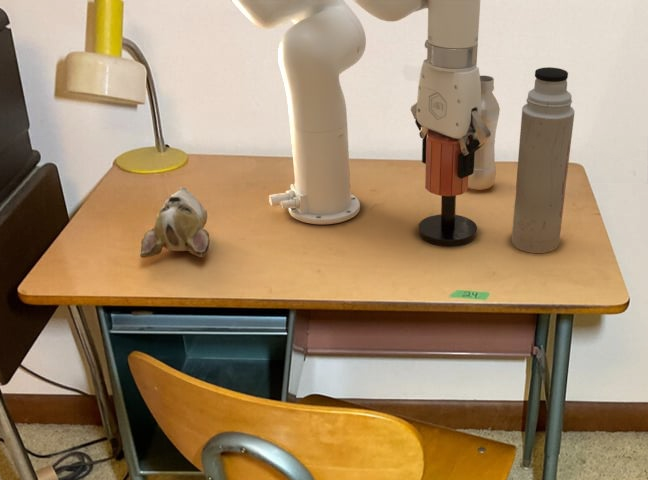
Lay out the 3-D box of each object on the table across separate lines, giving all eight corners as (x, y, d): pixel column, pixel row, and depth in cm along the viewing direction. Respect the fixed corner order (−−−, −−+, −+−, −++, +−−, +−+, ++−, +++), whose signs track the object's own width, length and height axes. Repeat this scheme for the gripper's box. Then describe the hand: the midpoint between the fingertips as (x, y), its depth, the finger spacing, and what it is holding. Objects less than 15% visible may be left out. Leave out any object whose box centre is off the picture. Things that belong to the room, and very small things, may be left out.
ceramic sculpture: (214, 177, 139) (199, 222, 127) (222, 224, 144) (209, 271, 133) (148, 177, 138) (127, 223, 127) (159, 225, 144) (140, 272, 132)
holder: (434, 251, 139) (435, 156, 129) (408, 226, 146) (408, 135, 136) (487, 240, 143) (493, 147, 133) (460, 216, 150) (463, 126, 140)
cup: (437, 199, 136) (438, 144, 130) (418, 182, 140) (419, 128, 135) (475, 192, 138) (478, 138, 133) (455, 176, 143) (458, 123, 138)
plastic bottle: (501, 185, 161) (509, 77, 149) (483, 197, 156) (490, 86, 144) (472, 177, 164) (477, 70, 151) (454, 188, 159) (457, 79, 147)
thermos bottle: (561, 234, 145) (581, 65, 128) (556, 255, 139) (577, 81, 122) (514, 229, 146) (528, 61, 129) (508, 250, 140) (522, 76, 123)
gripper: (393, 46, 129) (393, 158, 140) (478, 73, 120) (471, 191, 131) (428, 38, 133) (425, 147, 144) (512, 63, 124) (503, 178, 135)
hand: (447, 167), depth 137 cm, fingers closed on cup, 7 cm apart
